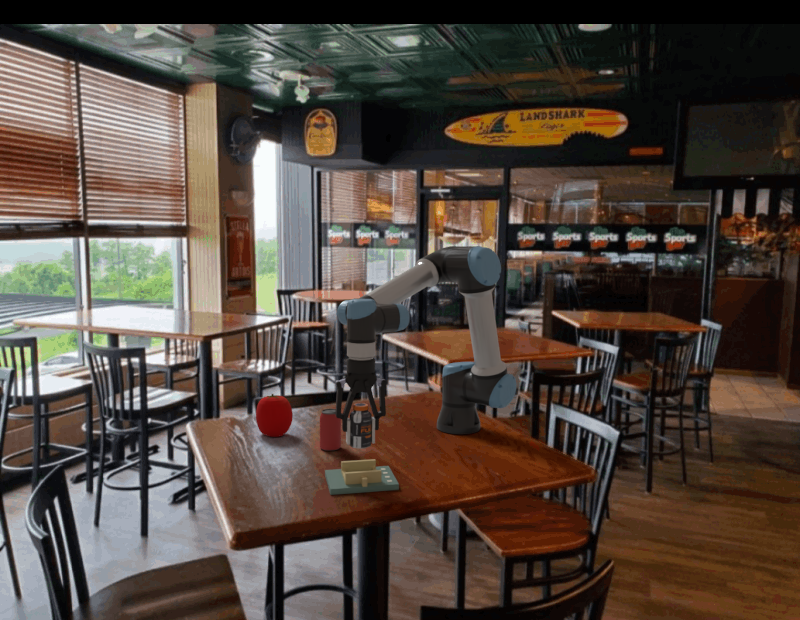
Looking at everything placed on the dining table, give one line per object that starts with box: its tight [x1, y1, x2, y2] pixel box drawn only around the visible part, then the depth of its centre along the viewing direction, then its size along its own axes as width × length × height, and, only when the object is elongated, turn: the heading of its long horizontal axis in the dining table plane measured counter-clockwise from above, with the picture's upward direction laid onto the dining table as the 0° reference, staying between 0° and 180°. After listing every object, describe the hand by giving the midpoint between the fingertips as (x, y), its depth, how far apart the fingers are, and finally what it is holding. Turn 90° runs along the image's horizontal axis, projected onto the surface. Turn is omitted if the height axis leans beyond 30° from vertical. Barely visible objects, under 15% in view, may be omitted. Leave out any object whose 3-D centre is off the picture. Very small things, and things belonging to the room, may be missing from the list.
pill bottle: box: [349, 402, 373, 449], centre depth 173 cm, size 6×6×11 cm
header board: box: [324, 458, 400, 496], centre depth 175 cm, size 18×14×4 cm
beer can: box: [319, 408, 342, 452], centre depth 202 cm, size 7×7×12 cm
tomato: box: [255, 393, 294, 438], centre depth 215 cm, size 13×11×14 cm
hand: (360, 442), depth 174 cm, fingers closed on pill bottle, 6 cm apart
